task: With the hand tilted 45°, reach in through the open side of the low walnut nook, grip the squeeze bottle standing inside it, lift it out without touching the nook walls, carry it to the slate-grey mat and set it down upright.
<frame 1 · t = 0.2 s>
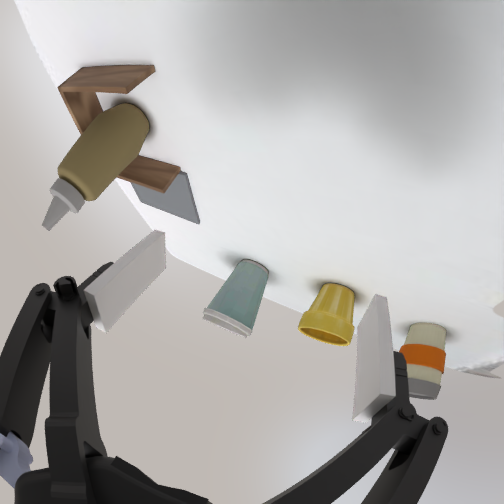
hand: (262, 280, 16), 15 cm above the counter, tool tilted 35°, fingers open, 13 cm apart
walnut nook: (133, 118, 31), on the counter
plant pot: (339, 290, 52), on the counter
squeeze bottle: (134, 117, 31), on the counter
reusable coffee cup: (428, 328, 50), on the counter
disposable coffee cup: (253, 265, 59), on the counter
slate mat: (160, 188, 45), on the counter
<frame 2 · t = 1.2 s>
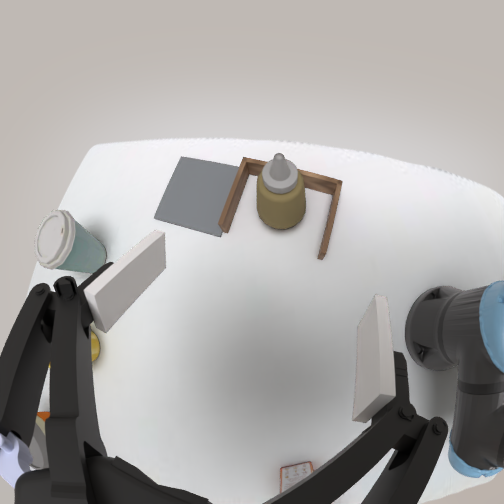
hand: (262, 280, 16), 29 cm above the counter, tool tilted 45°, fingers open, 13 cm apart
walnut nook: (281, 213, 48), on the counter
squeeze bottle: (281, 214, 48), on the counter
reusable coffee cup: (68, 428, 42), on the counter
cracker box: (303, 488, 35), on the counter
disposable coffee cup: (95, 256, 51), on the counter
slate mat: (199, 193, 51), on the counter
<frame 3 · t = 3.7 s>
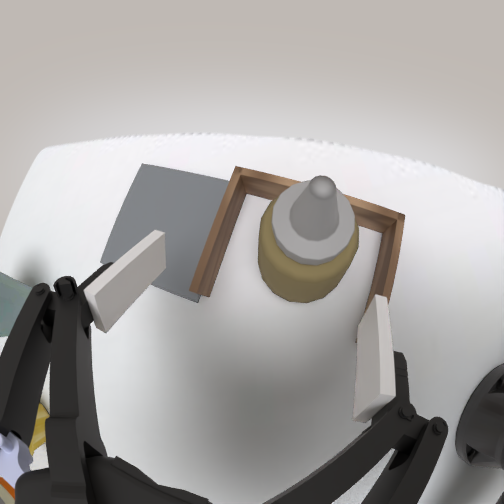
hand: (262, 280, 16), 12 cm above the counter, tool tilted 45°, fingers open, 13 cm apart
walnut nook: (299, 265, 28), on the counter
plant pot: (41, 419, 27), on the counter
squeeze bottle: (299, 266, 29), on the counter
reusable coffee cup: (39, 491, 23), on the counter
disposable coffee cup: (36, 308, 31), on the counter
slate mat: (165, 225, 31), on the counter
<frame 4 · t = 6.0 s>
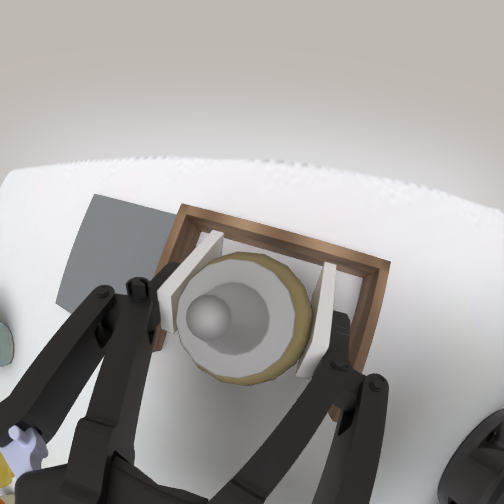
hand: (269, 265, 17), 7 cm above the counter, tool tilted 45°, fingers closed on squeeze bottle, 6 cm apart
walnut nook: (260, 319, 24), on the counter
plant pot: (19, 446, 22), on the counter
squeeze bottle: (260, 319, 24), on the counter, touching gripper
disposable coffee cup: (5, 341, 26), on the counter
slate mat: (115, 266, 27), on the counter
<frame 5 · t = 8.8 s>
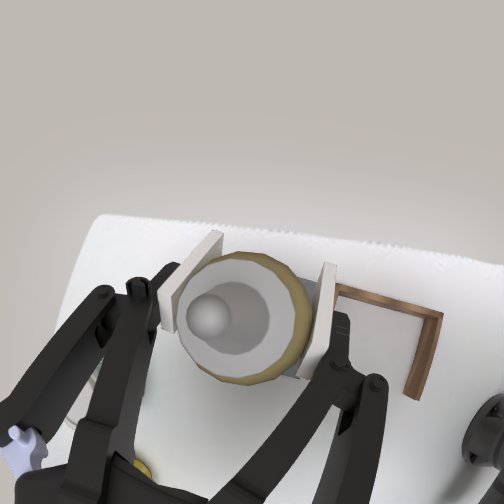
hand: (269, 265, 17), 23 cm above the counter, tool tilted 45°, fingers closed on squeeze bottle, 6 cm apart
walnut nook: (371, 347, 36), on the counter
squeeze bottle: (260, 319, 24), point 15 cm above the counter, touching gripper
disposable coffee cup: (128, 382, 38), on the counter
slate mat: (267, 319, 39), on the counter
when the fingers open (9 cm above the counter, at t = 11.6 s): squeeze bottle drops 1 cm, resting on slate mat.
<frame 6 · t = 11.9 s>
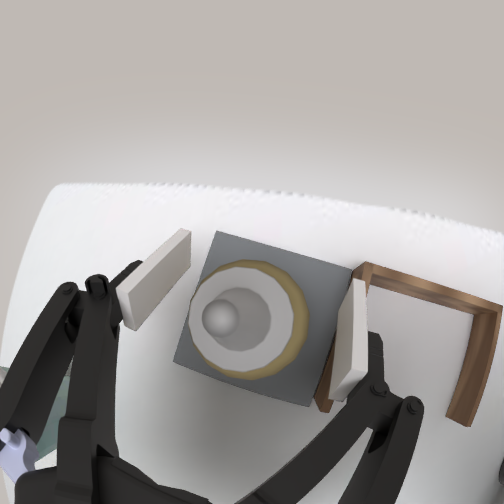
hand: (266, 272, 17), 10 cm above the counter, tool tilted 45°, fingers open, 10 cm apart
walnut nook: (409, 357, 23), on the counter
squeeze bottle: (262, 320, 25), resting on slate mat
disposable coffee cup: (79, 398, 25), on the counter
slate mat: (262, 319, 26), on the counter
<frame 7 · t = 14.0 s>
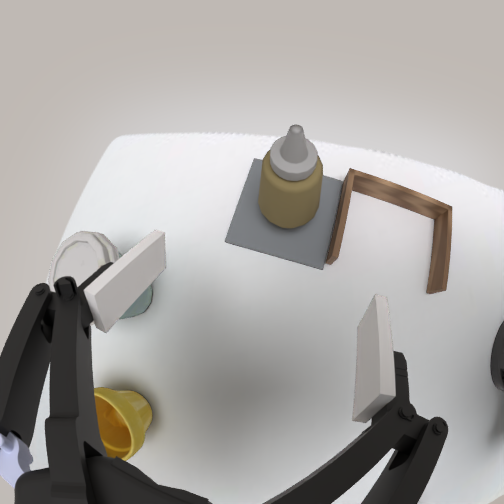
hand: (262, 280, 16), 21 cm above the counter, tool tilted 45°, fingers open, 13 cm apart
walnut nook: (389, 240, 37), on the counter
plant pot: (133, 409, 34), on the counter
squeeze bottle: (287, 210, 39), resting on slate mat
disposable coffee cup: (134, 291, 38), on the counter
slate mat: (286, 210, 39), on the counter
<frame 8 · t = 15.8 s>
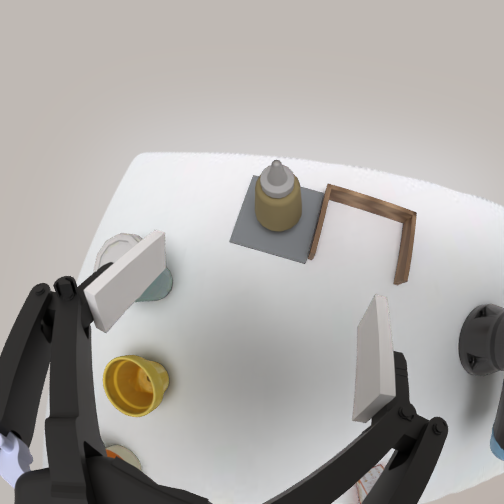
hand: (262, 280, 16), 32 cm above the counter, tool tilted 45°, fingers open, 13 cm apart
walnut nook: (361, 241, 48), on the counter
plant pot: (153, 377, 46), on the counter
squeeze bottle: (278, 217, 50), resting on slate mat
reusable coffee cup: (124, 461, 41), on the counter
cracker box: (371, 489, 35), on the counter
disposable coffee cup: (158, 281, 50), on the counter
slate mat: (278, 217, 50), on the counter
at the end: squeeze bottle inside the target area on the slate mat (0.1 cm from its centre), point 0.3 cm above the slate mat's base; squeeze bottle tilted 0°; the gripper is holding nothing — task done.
